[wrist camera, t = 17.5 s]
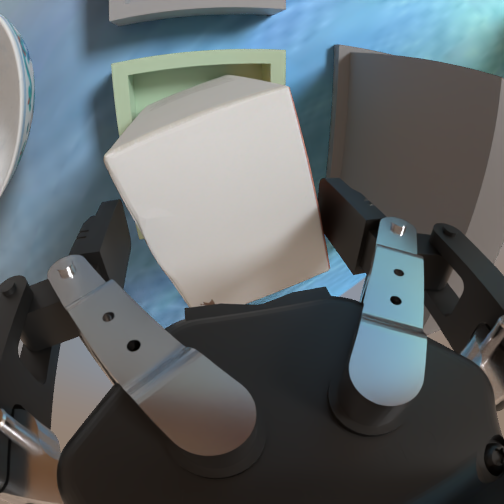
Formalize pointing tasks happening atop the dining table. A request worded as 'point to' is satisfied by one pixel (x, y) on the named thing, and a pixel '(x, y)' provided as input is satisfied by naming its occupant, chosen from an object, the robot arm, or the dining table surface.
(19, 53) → the chinaware
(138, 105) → the sage tray
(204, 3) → the grey tray
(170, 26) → the dining table surface
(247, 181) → the small box
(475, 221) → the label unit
